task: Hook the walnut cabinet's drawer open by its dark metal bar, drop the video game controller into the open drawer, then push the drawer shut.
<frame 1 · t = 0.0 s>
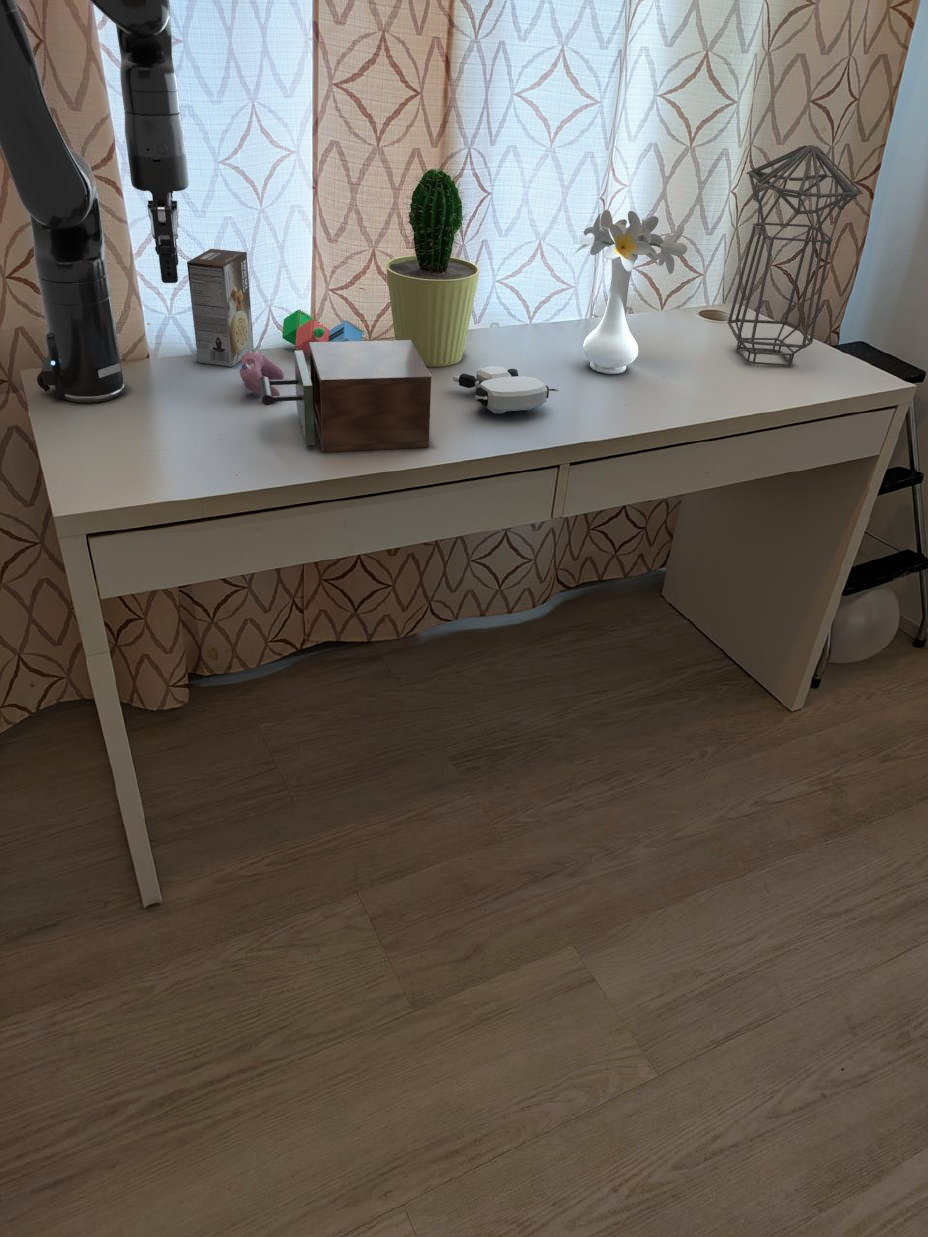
hand: (170, 273, 139), 17 cm above the table, tool pointing down, fingers open, 8 cm apart
drawer: (329, 395, 136), point 5 cm above the table, slide at 1.0 cm
building blocks: (323, 354, 165), on the table
coffee box: (226, 357, 161), on the table
video game controller: (263, 392, 149), on the table
robot toy: (501, 403, 151), on the table
flower vase: (609, 367, 167), on the table
potted cactus: (429, 356, 167), on the table
cabinet: (368, 428, 140), on the table
geometric lantern: (761, 359, 175), on the table
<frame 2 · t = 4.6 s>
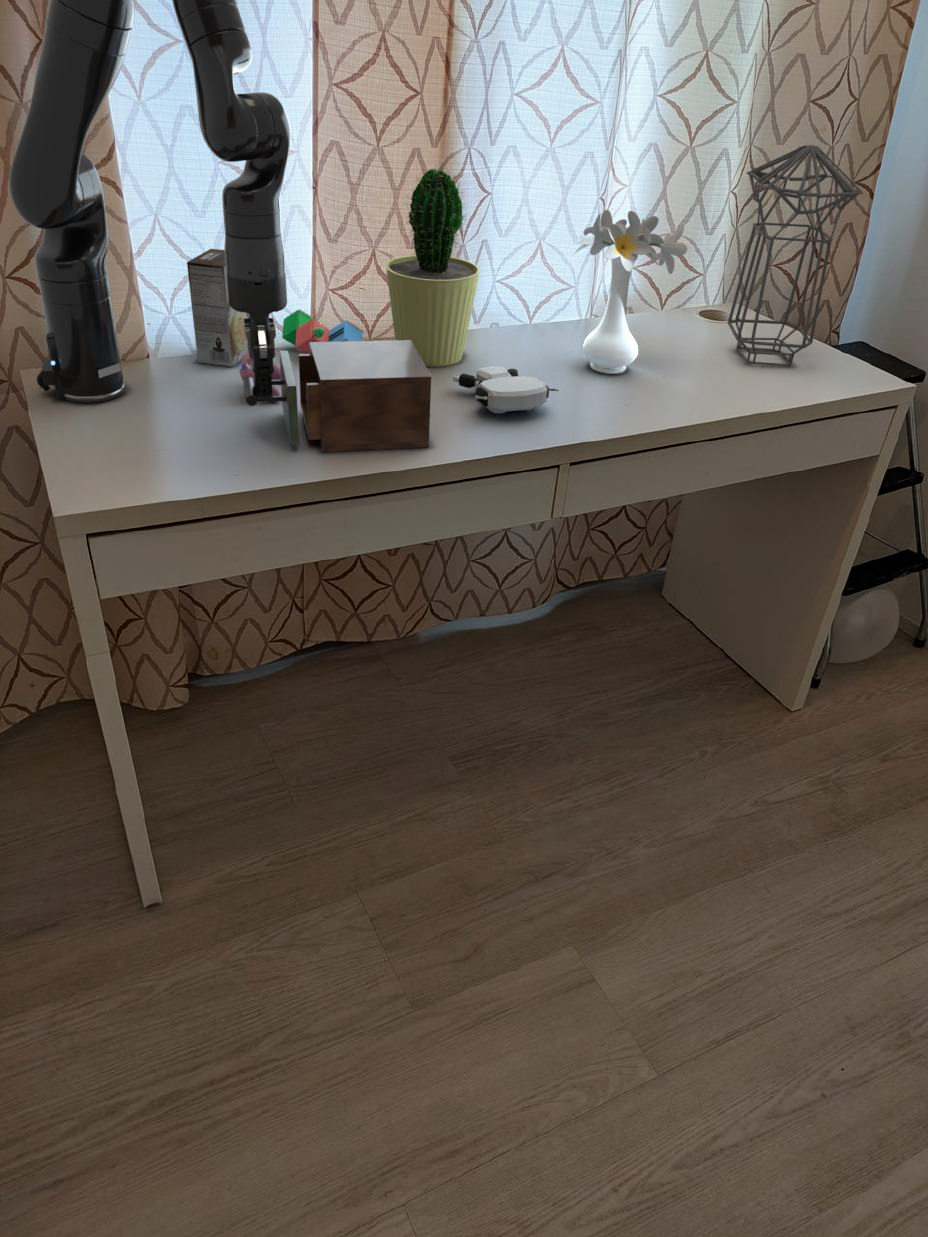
hand: (264, 397, 134), 5 cm above the table, tool pointing down, fingers closed
drawer: (314, 396, 136), point 5 cm above the table, slide at 3.1 cm, touching gripper
everything else where it was.
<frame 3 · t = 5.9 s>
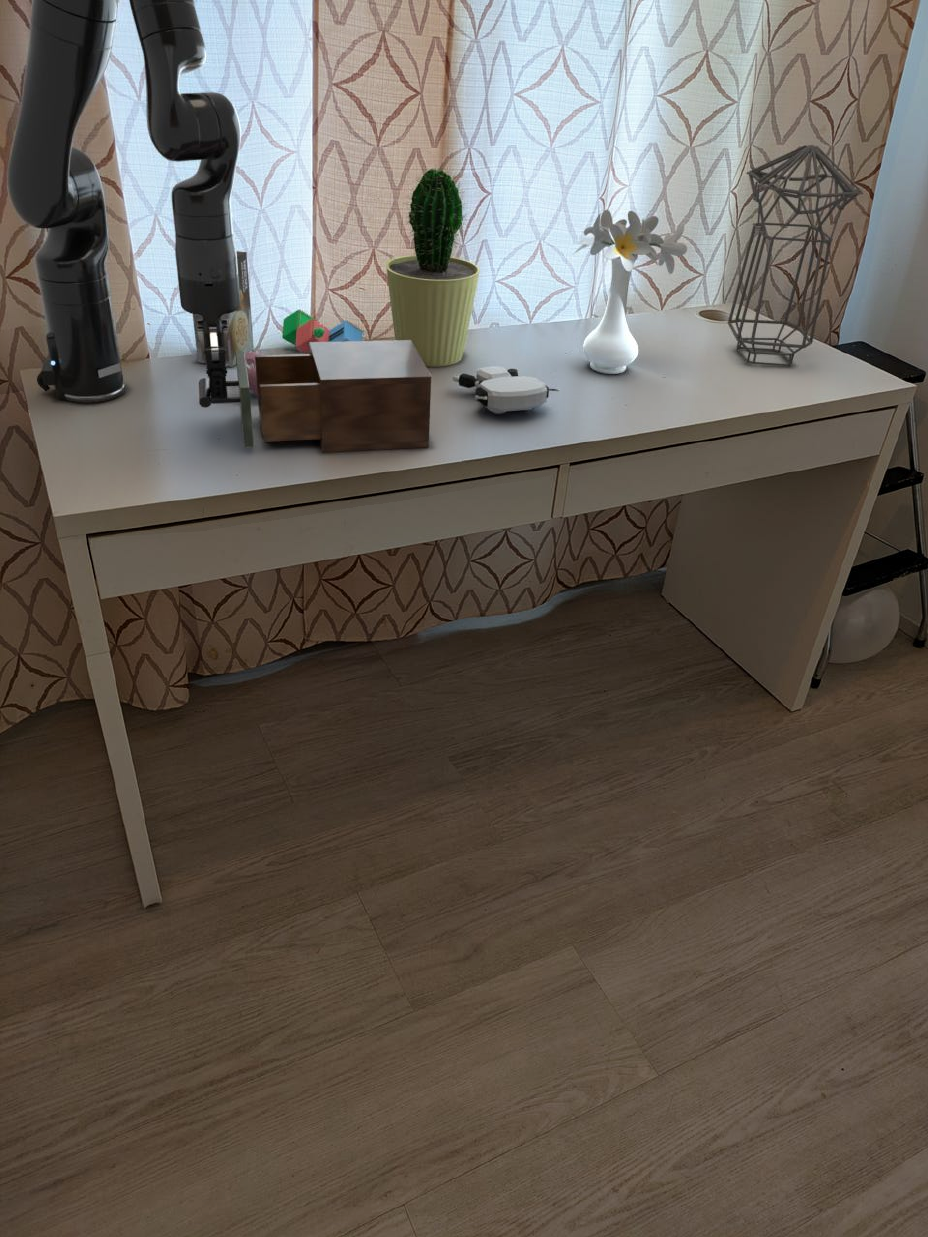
hand: (219, 400, 133), 5 cm above the table, tool pointing down, fingers closed
drawer: (270, 397, 134), point 5 cm above the table, slide at 9.1 cm, touching gripper
everything else where it was.
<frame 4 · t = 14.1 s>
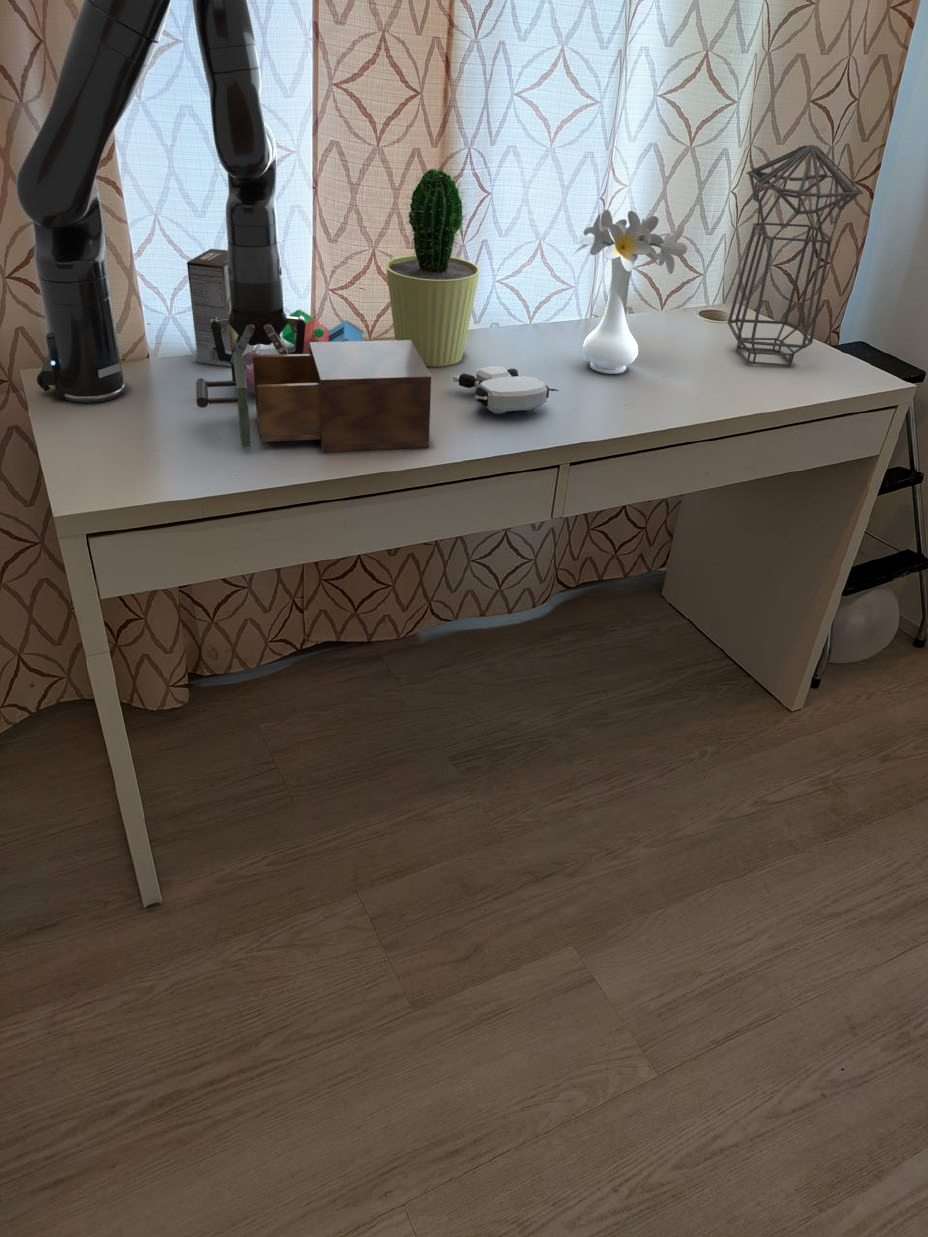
hand: (262, 385, 149), 1 cm above the table, tool pointing down, fingers closed on video game controller, 6 cm apart
drawer: (267, 397, 134), point 5 cm above the table, slide at 9.5 cm
video game controller: (263, 392, 149), on the table, touching gripper
everything else where it was.
when the fingers open (10 cm above the table, at t = 20.3 s): video game controller drops 7 cm, resting on drawer.
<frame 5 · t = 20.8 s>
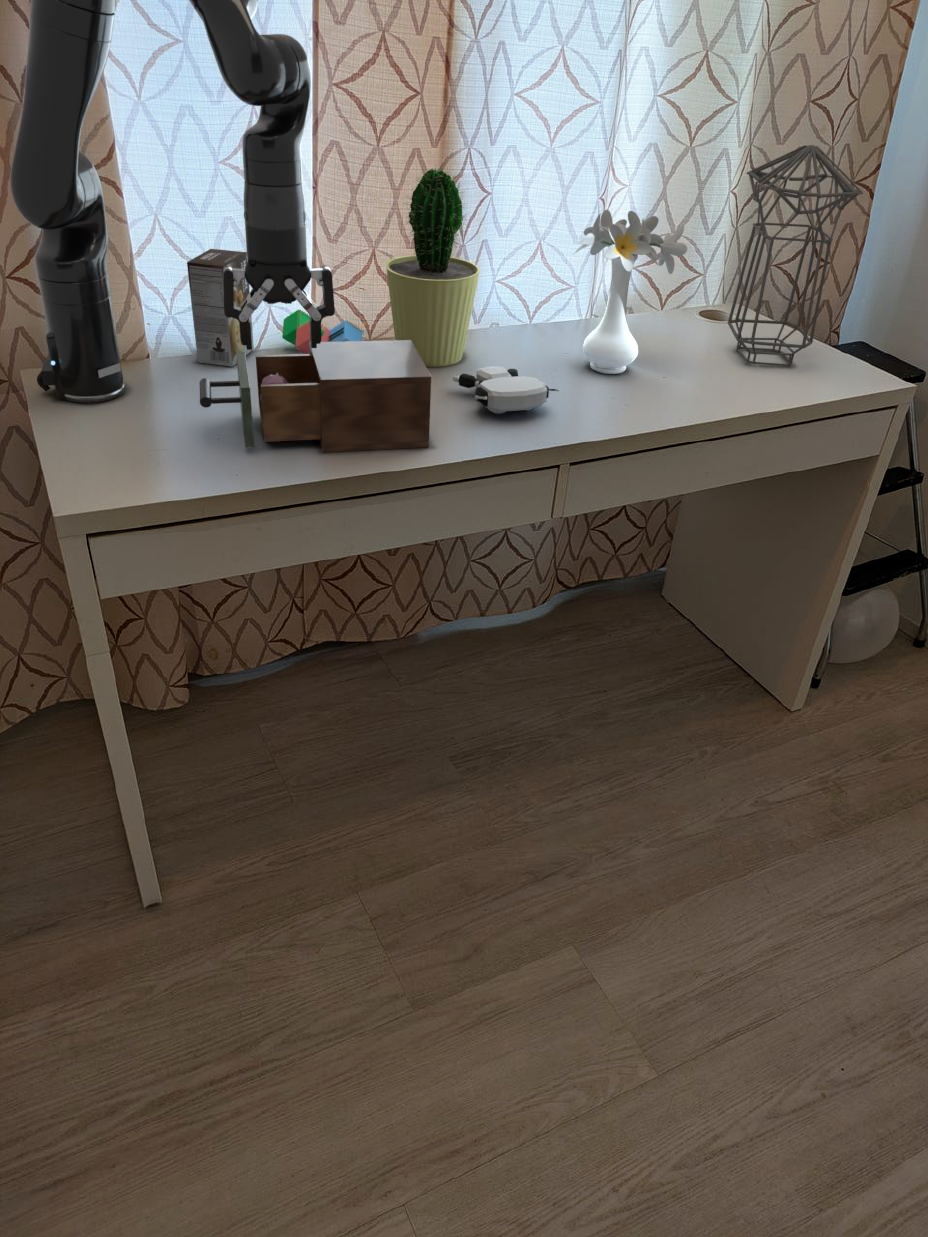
hand: (281, 347, 131), 12 cm above the table, tool pointing down, fingers open, 8 cm apart
drawer: (271, 397, 134), point 5 cm above the table, slide at 9.1 cm, touching video game controller
video game controller: (284, 419, 136), point 2 cm above the table, touching drawer
everything else where it was.
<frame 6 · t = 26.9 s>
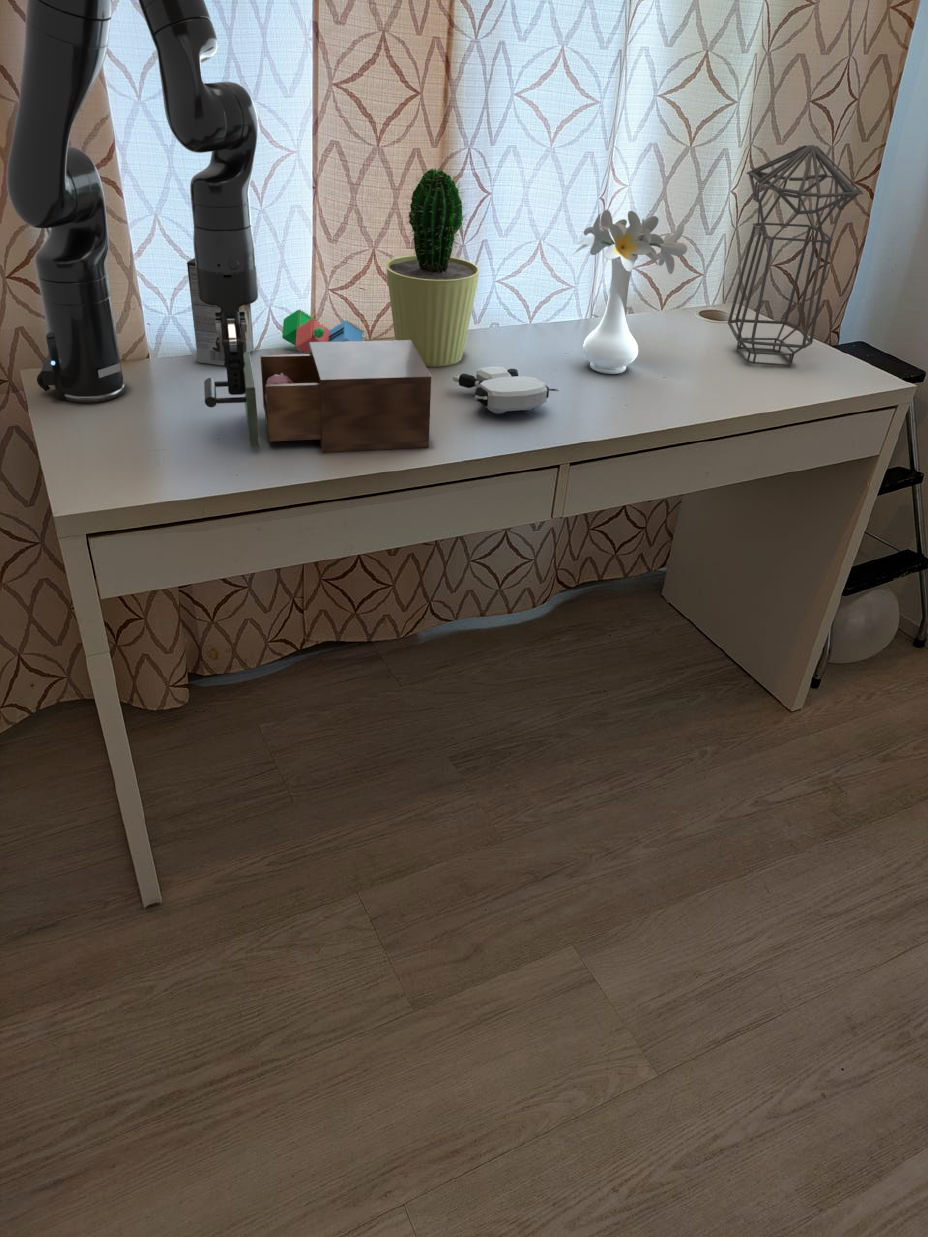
hand: (236, 392, 133), 6 cm above the table, tool pointing down, fingers closed
drawer: (275, 397, 134), point 5 cm above the table, slide at 8.4 cm, touching gripper, video game controller
everything else where it was.
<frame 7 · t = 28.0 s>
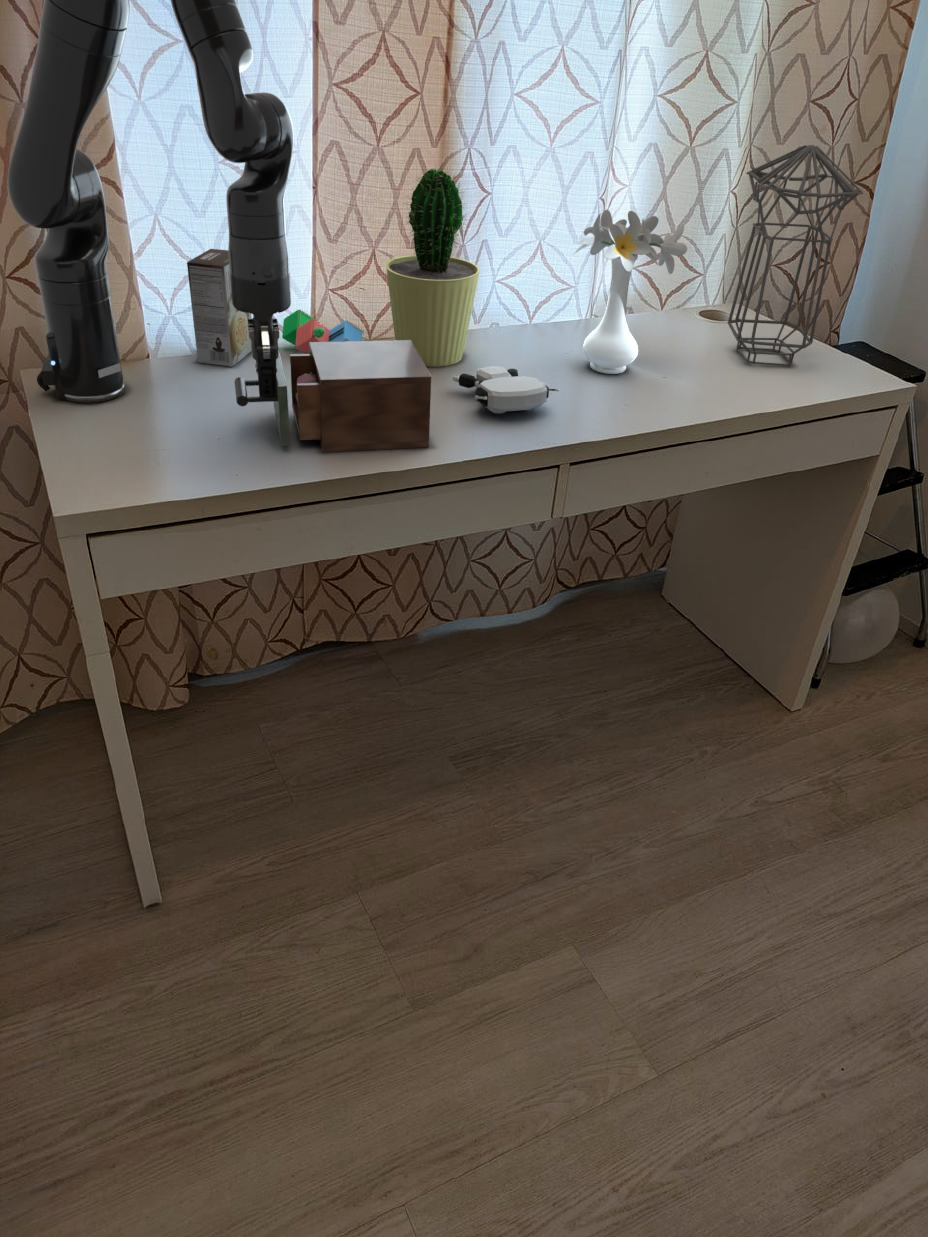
hand: (267, 398, 134), 5 cm above the table, tool pointing down, fingers closed
drawer: (305, 396, 135), point 5 cm above the table, slide at 4.3 cm, touching gripper, video game controller
video game controller: (318, 418, 137), point 2 cm above the table, touching drawer
everything else where it was.
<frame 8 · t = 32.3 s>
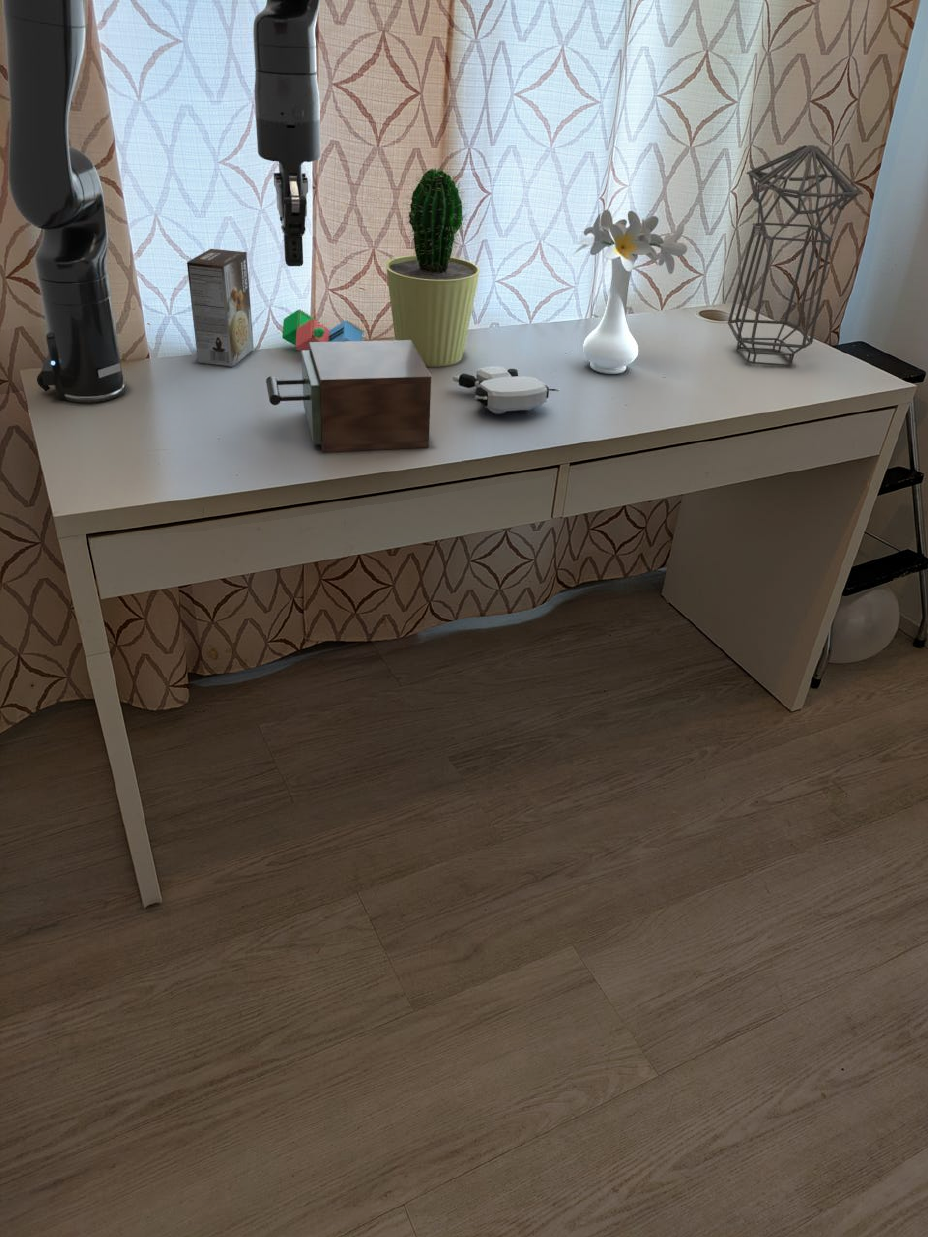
hand: (294, 264, 125), 23 cm above the table, tool pointing down, fingers closed
drawer: (336, 395, 136), point 5 cm above the table, slide at 0.0 cm, touching cabinet, video game controller
video game controller: (348, 417, 138), point 2 cm above the table, touching drawer
everything else where it was.
at the end: drawer pulled out 9.5 cm at the most during the clip, back to where it started at the end; video game controller inside the target area in the cabinet (2.8 cm from its centre), point 1.9 cm above the cabinet's base; drawer slide at 0.0 cm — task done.
